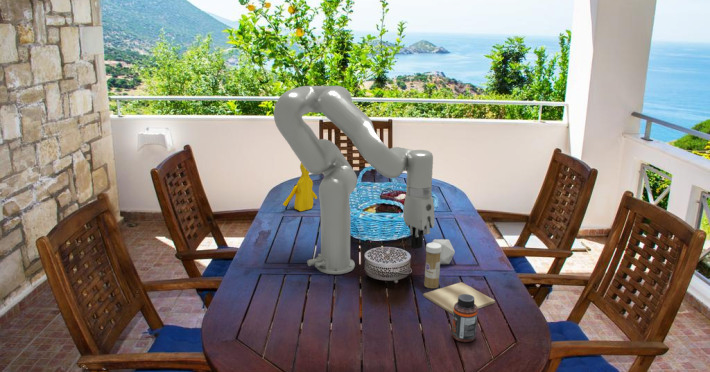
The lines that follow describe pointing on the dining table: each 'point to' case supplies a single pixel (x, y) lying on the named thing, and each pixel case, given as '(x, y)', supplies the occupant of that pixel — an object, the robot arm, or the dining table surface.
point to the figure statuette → (302, 192)
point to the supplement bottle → (464, 318)
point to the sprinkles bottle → (432, 265)
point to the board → (456, 296)
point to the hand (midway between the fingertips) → (416, 247)
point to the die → (445, 250)
